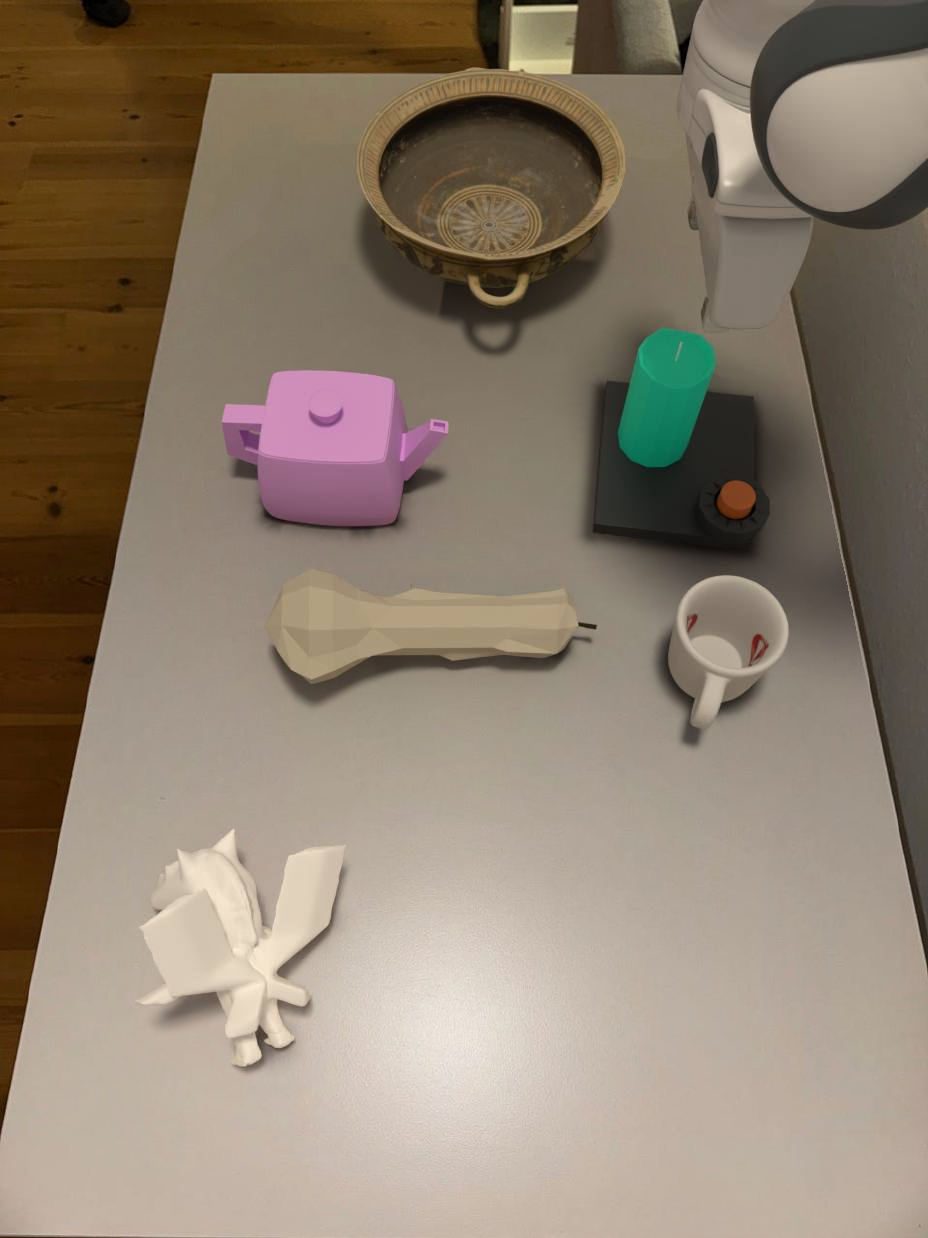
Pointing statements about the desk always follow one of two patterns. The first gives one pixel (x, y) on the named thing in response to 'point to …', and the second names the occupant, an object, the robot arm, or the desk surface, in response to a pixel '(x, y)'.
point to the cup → (724, 641)
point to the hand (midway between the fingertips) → (706, 272)
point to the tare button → (736, 499)
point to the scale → (681, 478)
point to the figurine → (238, 936)
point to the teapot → (330, 447)
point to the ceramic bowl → (491, 177)
